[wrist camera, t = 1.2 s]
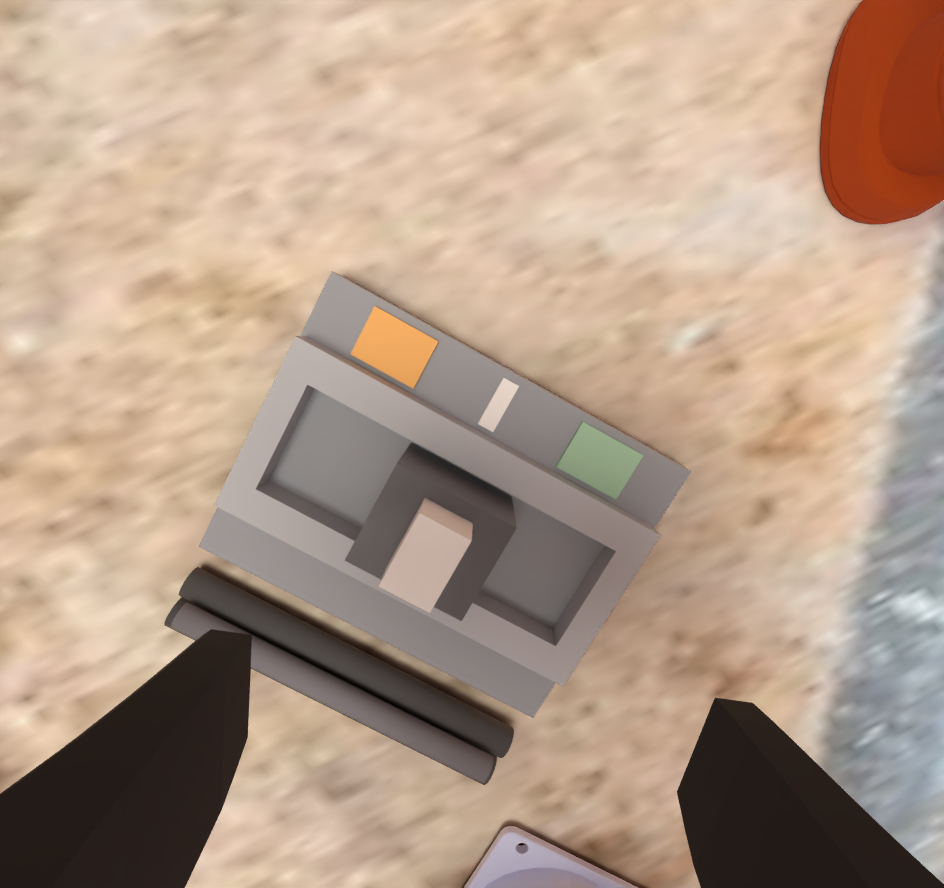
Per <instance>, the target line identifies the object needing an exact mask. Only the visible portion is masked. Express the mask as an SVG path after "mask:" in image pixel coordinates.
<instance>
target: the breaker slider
mask: <svg viewBox="0 0 944 888" xmlns="http://www.w3.org/2000/svg"><path fill="white" fill-rule="evenodd" d="M516 529H517V526H516V520H515V514H514V507H513V501H512V497H511V496H509V495H508V494H506V493H504V492H502V491H500V490H498V489H497V488H495V487H493V486H491V485H489V484H487V483H485V482H484V481H482V480H480V479H478V478H476V477H474V476H472V475H471V474H469V473H467V472H465V471H463V470H461V469H460V468H458V467H456V466H454V465H452V464H450V463H448V462H447V461H445V460H443V459H441V458H439V457H437V456H435V455H434V454H432V453H430V452H428V451H426V450H424V449H422V448H421V447H419V446H417V445H415V444H413V443H411V444H410V445H409V446H408V448H407V449H406V451H405V452H404V454H403V455H402V456H401V458H400V459H399V461H398V462H397V464H396V465H395V467H394V469H393V471H392V473H391V475H390V477H389V479H388V480H387V482H386V484H385V486H384V488H383V490H382V492H381V493H380V495H379V497H378V499H377V501H376V503H375V505H374V506H373V508H372V510H371V512H370V514H369V516H368V518H367V519H366V521H365V523H364V525H363V527H362V529H361V531H360V532H359V534H358V536H357V538H356V540H355V542H354V544H353V545H352V547H351V549H350V551H349V553H348V555H347V557H346V558H345V560H344V561H346V562H348V563H350V564H352V565H354V566H356V567H358V568H360V569H362V570H364V571H366V572H367V573H369V574H371V575H373V576H375V577H377V578H379V579H381V582H380V584H379V587H380V588H382V589H384V590H386V591H388V592H390V593H392V594H394V595H396V596H398V597H400V598H402V599H404V600H405V601H407V602H409V603H411V604H413V605H415V606H417V607H419V608H421V609H423V610H425V611H427V612H429V613H430V612H431V610H432V609H433V607H435V608H437V609H439V610H440V611H442V612H444V613H446V614H448V615H450V616H452V617H454V618H456V619H458V620H460V621H462V620H463V618H464V616H465V615H466V613H467V611H468V610H469V608H470V606H471V605H472V603H473V601H474V600H475V598H476V596H477V595H478V593H479V591H480V589H481V588H482V586H483V584H484V583H485V581H486V579H487V578H488V576H489V574H490V573H491V571H492V569H493V568H494V566H495V564H496V562H497V561H498V559H499V557H500V556H501V554H502V552H503V551H504V549H505V547H506V546H507V544H508V542H509V540H510V539H511V537H512V535H513V534H514V532H515V530H516Z"/></svg>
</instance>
